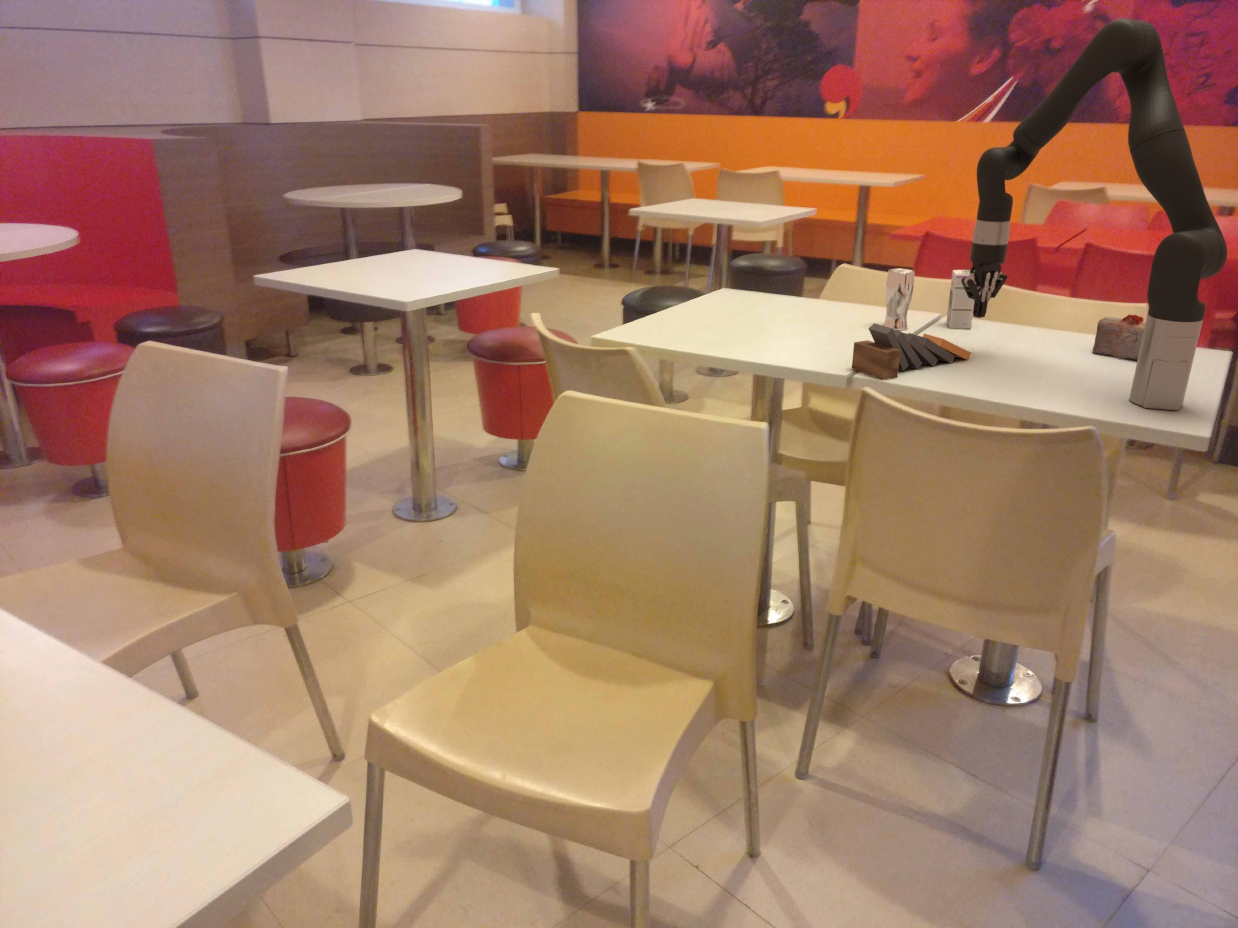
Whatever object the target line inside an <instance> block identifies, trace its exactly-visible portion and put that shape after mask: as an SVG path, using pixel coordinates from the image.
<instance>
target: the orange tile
mask: <svg viewBox="0 0 1238 928" xmlns="http://www.w3.org/2000/svg"><path fill="white" fill-rule="evenodd" d="M922 337H925V338H928V339H929V340H931V341H932V342H934V343H935V344H937V345H939V346H940V347H942V348H943V349H945V350H946V351H948V352H949V353H951V354H952V355H954V356H955V357H956V358H959V359H963V360H966V361H969V360H970V358H971V357H970V356H971V355H972V352H970V351H968V350H966V349H964V348H963V347H960V346H958V345H957V344H954V343H953V342H950V341H949V340H946V339H945V338H941V337H938V336H935V335H932V334H927V333H923V335H922ZM955 357H954V358H955Z"/></svg>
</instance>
